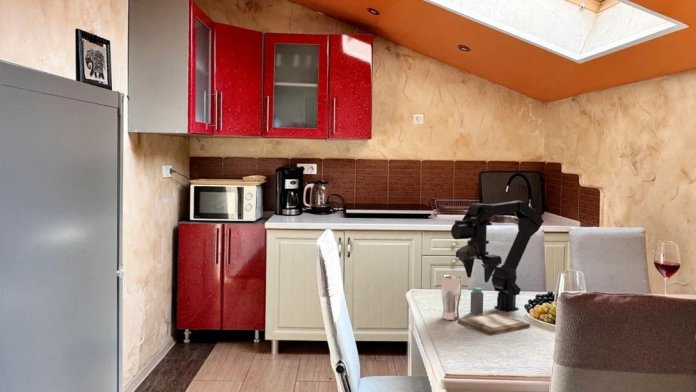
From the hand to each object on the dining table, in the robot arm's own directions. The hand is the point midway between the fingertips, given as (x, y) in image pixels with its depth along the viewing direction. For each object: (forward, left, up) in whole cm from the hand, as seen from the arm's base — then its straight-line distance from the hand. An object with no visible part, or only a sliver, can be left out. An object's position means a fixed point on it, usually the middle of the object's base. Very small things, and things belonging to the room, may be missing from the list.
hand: (477, 279), depth 212 cm
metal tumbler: (+13, +1, -13) cm, 18 cm away
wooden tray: (+5, +14, -12) cm, 19 cm away
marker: (0, 0, -12) cm, 12 cm away
